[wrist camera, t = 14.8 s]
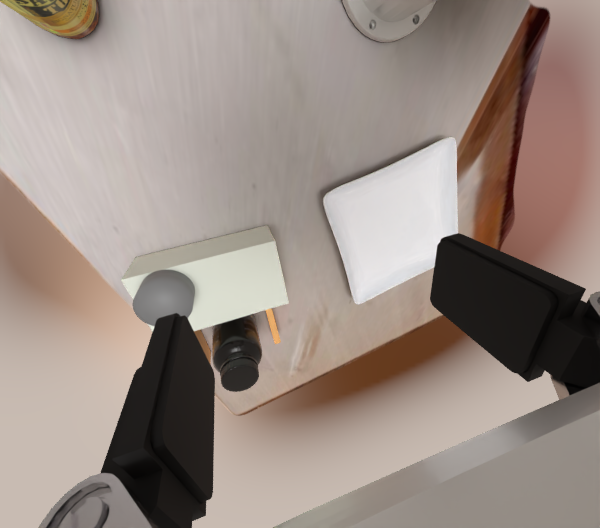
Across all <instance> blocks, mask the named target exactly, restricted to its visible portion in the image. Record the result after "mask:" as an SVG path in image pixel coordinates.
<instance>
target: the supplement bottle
mask: <svg viewBox="0 0 600 528" xmlns="http://www.w3.org/2000/svg"><path fill="white" fill-rule="evenodd" d="M261 357H262V349H261V344H260V339H259V335H258V330H257V326H256V321H255V317H254V314H251V315H247V316H244V317H241V318H237V319H234V320H231V321H227V322H224V323H221V324H217V325H214V326H213V364H214V367H215V368H216V370H217V371H218V372H219V373H220V376H221V384H222V386H223V387H224V388H225V389H226V390H229V391H233V392H234V391H235V392H237V391H244V390H246V389H248V388H250V387H251V386H253V385H254V384H255V383H256V382H257V380H258V377H259V372H258V364H259V363H260V360H261Z"/></svg>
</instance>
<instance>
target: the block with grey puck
mask: <svg viewBox="0 0 600 528" xmlns="http://www.w3.org/2000/svg"><path fill="white" fill-rule="evenodd" d="M121 281H122V282H123V284H124V286H125V287H126V289H127V291H128V292H129V294H130V296H131V297H132V299H133V309H134V312H135V314H136V315H137V317H139V318H140V319H141V320H142V321H143V322H145V323H147V324H148V325H149V327H150V329H151V330H152V332H153V330H154V327H155V324H156V321H157V319H158V318H160V317H164V316H167V315H171V314H174V313H178V314H179V315H180V316H184V315H185V316H186V317H187V318H188V320H189V322H190V324H191V326H192V329H193V331H194V333H195V335H196V337H197V339H198V341H199V343H200V345H201V347H202V349H203V351H204V353H205V355H206V357H207V359H208V361H209V363H210V359H211V351H210V349H209V347H208V345H207V343H206V340H205V338H204V336H203V334H202V332H201V330H200V329H204V328H207V327H210V326H214V325H217V324H221V323H224V322H227V321H231V320H234V319H237V318H241V317H244V316H247V315H251V314H254V313H257V312H261V311H264V310H266V314H267V317H268V321H269V324H270V328H271V331H272V335H273V339H274V342H275V344H277V343H280V342H281V341H280V338H279V334H278V330H277V326H276V323H275V319H274V315H273V311H272V308H274V307H278V306H281V305H284V304H288V303H289V302H288V297H287V293H286V288H285V283H284V279H283V274H282V270H281V265H280V261H279V256H278V252H277V247H276V242H275V239H274V237H273V235H272V233H271V231H270V229H269V227H268V225H266V226H262V227H258V228H253V229H249V230H245V231H241V232H237V233H233V234H229V235H225V236H221V237H216V238H212V239H208V240H204V241H200V242H196V243H192V244H188V245H184V246H179V247H175V248H171V249H167V250H163V251H159V252H155V253H151V254H147V255H142V256H138V257H135V259H134V260H133V262H132V264H131V265H130V267H129V268H128V270H127V271H126V273H125V275H124V276H123V278H122V279H121Z"/></svg>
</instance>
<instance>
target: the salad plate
mask: <svg viewBox="0 0 600 528" xmlns="http://www.w3.org/2000/svg"><path fill="white" fill-rule="evenodd" d="M323 206H324V209H325V212H326V215H327V218H328V221H329V224H330V226H331V229H332V232H333V234H334V237H335V240H336V242H337V245H338V248H339V251H340V254H341V257H342V260H343V264H344V267H345V271H346V275H347V278H348V282H349V286H350V290H351V294H352V297H353V300H354V302H355V304H361V303H363V302H365V301H367V300H369V299H371V298H373V297H375V296H377V295H379V294H381V293H383V292H385V291H387V290H389V289H391V288H393V287H395V286H397V285H399V284H401V283H403V282H405V281H407V280H409V279H411V278H413V277H415V276H417V275H419V274H421V273H423V272H425V271H427V270H429V269H431V268H433V267H434V266H435V259H436V252H437V245H438V244H439V243H440V240H441V239H442V238H443V237H446V236H450V235H453V234H458V210H457V149H456V140H455V138H453V137H447V138H444V139H442V140H440V141H438V142H435V143H433V144H431V145H429V146H428V147H426V148H424V149H422V150H420V151H418V152H416V153H414V154H412V155H410V156H408V157H406V158H403V159H401V160H399V161H397V162H395V163H393V164H391V165H389V166H386V167H384V168H382V169H380V170H378V171H375V172H373V173H371V174H368V175H366V176H364V177H361V178H359V179H356V180H354V181H351V182H348V183H346V184H343V185H341V186H339V187H336V188H335V189H333V190H331V191H329V192H328V193H326V194H325V196H324V197H323Z"/></svg>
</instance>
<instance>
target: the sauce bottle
mask: <svg viewBox="0 0 600 528" xmlns="http://www.w3.org/2000/svg"><path fill="white" fill-rule="evenodd" d="M0 2H2V3H3V4H5V5H6V6H8V7H10V8H11V9H13V10H14V11H16V12H17V13H19V14H21V15H22V16H24V17H25V18H27V19H28V20H30V21H31V22H33V23H34V24H36V25H37V26H39V27H41V28H42V29H44V30H46V31H49V32H51V33H53V34H56V35H57V36H61V37H65V38H71V39H73V38H74V39H80V38H82V37H84V36H86V35H88V34H89V33H91V32H92V31H93V30H94V29H95V26H96V25H97V23H98V18H99V17H98V16H99V12H98V2H97V0H0Z"/></svg>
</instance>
